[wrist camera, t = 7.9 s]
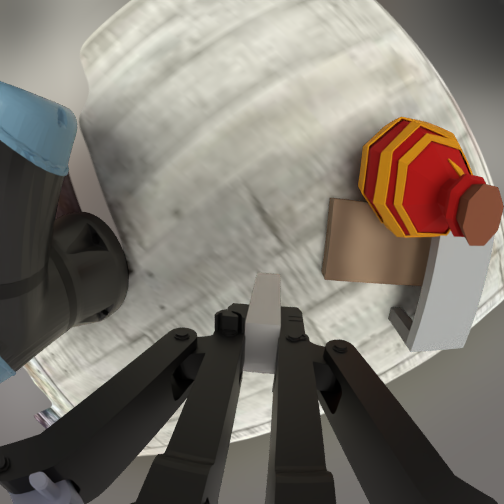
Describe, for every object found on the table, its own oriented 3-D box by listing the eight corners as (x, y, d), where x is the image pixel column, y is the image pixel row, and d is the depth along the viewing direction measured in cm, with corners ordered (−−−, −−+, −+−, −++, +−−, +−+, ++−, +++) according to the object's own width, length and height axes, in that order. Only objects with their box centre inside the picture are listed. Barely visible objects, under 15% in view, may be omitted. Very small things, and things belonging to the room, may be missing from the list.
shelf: (388, 318, 29) (410, 351, 22) (410, 183, 25) (445, 185, 18) (436, 318, 29) (463, 347, 21) (460, 194, 25) (498, 199, 17)
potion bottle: (429, 194, 26) (520, 255, 13) (354, 223, 28) (424, 313, 14) (410, 104, 21) (520, 116, 8) (324, 128, 23) (406, 145, 10)
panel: (321, 270, 30) (324, 279, 27) (329, 197, 28) (334, 199, 25) (428, 278, 28) (439, 287, 25) (439, 213, 26) (452, 216, 23)
